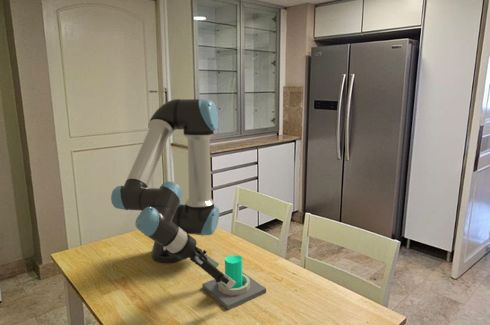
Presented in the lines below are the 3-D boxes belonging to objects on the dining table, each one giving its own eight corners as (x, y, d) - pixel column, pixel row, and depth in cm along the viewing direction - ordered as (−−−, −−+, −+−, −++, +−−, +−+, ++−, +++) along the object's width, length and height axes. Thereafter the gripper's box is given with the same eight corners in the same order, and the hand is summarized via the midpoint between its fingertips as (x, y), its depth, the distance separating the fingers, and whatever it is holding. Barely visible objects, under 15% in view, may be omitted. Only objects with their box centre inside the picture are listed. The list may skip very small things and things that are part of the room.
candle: (245, 284, 124) (245, 253, 122) (236, 292, 119) (236, 260, 117) (231, 279, 127) (231, 249, 125) (221, 287, 122) (221, 255, 120)
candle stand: (202, 287, 125) (202, 278, 125) (238, 273, 135) (238, 264, 134) (227, 309, 113) (227, 300, 112) (266, 292, 122) (266, 283, 121)
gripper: (161, 237, 120) (203, 268, 130) (184, 271, 99) (233, 304, 109) (176, 220, 122) (216, 251, 132) (201, 249, 100) (248, 284, 110)
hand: (224, 275), depth 120 cm, fingers open, 13 cm apart
